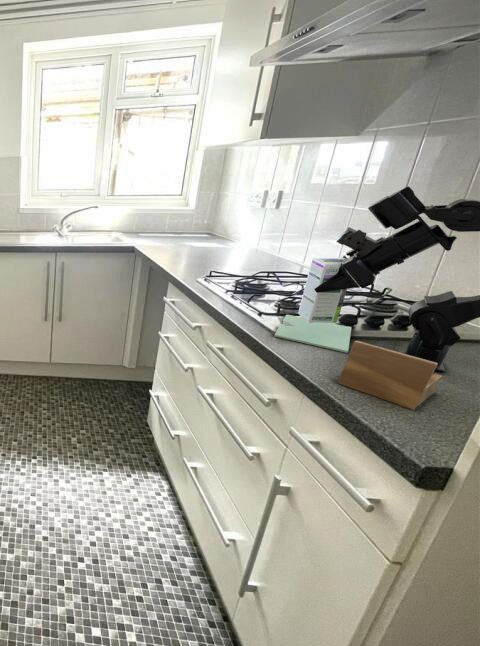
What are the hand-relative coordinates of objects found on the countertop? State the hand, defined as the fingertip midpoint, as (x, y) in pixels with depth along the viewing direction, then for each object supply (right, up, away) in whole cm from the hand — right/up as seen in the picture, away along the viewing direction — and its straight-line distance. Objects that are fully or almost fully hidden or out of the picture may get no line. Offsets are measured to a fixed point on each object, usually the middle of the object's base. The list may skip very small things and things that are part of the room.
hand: (316, 287), depth 98 cm
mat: (+6, -11, +8) cm, 14 cm away
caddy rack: (-2, -22, -18) cm, 28 cm away
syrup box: (+2, -7, +2) cm, 8 cm away
